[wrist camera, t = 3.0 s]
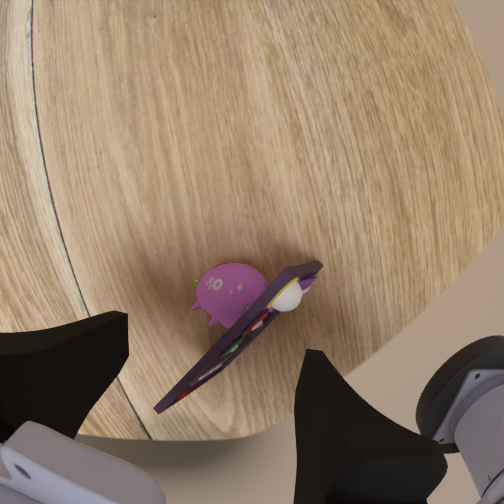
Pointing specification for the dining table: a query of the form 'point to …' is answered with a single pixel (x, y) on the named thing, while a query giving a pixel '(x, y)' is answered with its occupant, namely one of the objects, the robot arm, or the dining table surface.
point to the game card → (239, 314)
